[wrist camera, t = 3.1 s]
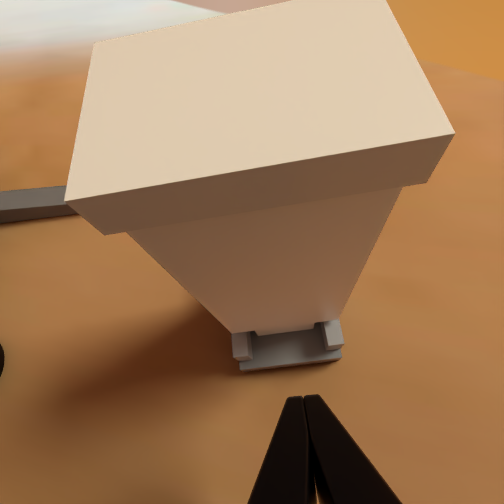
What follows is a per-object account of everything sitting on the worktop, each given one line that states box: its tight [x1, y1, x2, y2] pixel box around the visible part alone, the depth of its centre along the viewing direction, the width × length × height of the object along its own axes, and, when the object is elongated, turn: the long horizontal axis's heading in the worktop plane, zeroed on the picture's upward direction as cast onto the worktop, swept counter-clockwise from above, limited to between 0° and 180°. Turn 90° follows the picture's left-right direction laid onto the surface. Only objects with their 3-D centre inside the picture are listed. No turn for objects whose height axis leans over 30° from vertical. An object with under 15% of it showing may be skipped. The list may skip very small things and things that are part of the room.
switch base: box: [229, 319, 344, 372], centre depth 18 cm, size 12×5×3 cm, turn 6°
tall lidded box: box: [64, 0, 455, 336], centre depth 11 cm, size 4×5×13 cm
